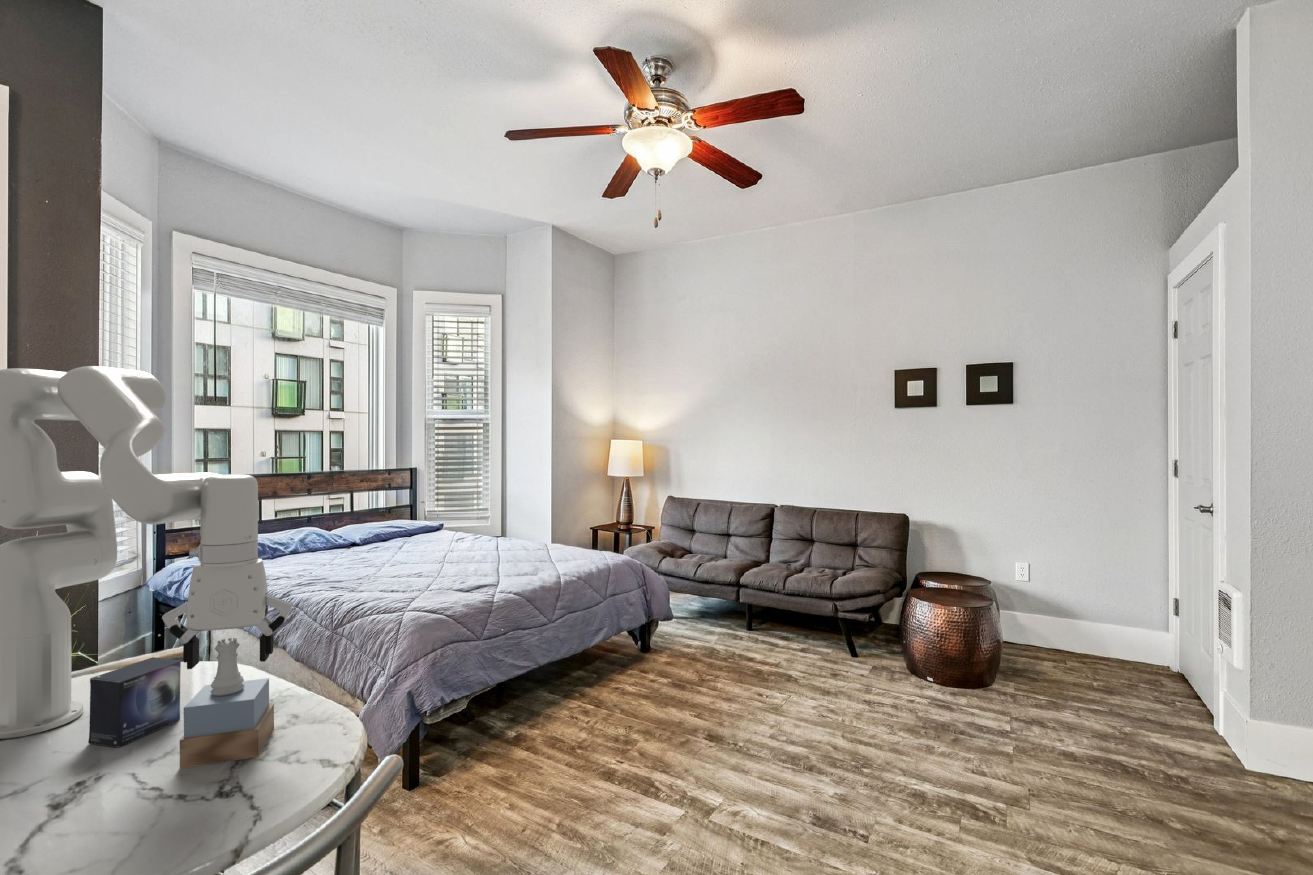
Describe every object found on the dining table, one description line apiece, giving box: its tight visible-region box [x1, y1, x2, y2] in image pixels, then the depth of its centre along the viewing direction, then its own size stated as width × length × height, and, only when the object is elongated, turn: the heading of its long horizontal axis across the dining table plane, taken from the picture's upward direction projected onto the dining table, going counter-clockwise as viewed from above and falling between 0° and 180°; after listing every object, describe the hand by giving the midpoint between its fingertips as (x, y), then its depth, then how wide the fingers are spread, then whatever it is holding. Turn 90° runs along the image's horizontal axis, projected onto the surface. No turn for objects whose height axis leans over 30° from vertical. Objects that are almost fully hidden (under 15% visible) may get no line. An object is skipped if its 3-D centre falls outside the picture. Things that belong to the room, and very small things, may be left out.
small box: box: [87, 656, 182, 748], centre depth 105 cm, size 11×6×10 cm, turn 168°
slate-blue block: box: [183, 677, 270, 738], centre depth 99 cm, size 9×9×4 cm
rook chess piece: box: [210, 637, 245, 696], centre depth 99 cm, size 4×4×8 cm
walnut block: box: [179, 703, 275, 769], centre depth 99 cm, size 10×10×4 cm
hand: (229, 662), depth 100 cm, fingers open, 9 cm apart
